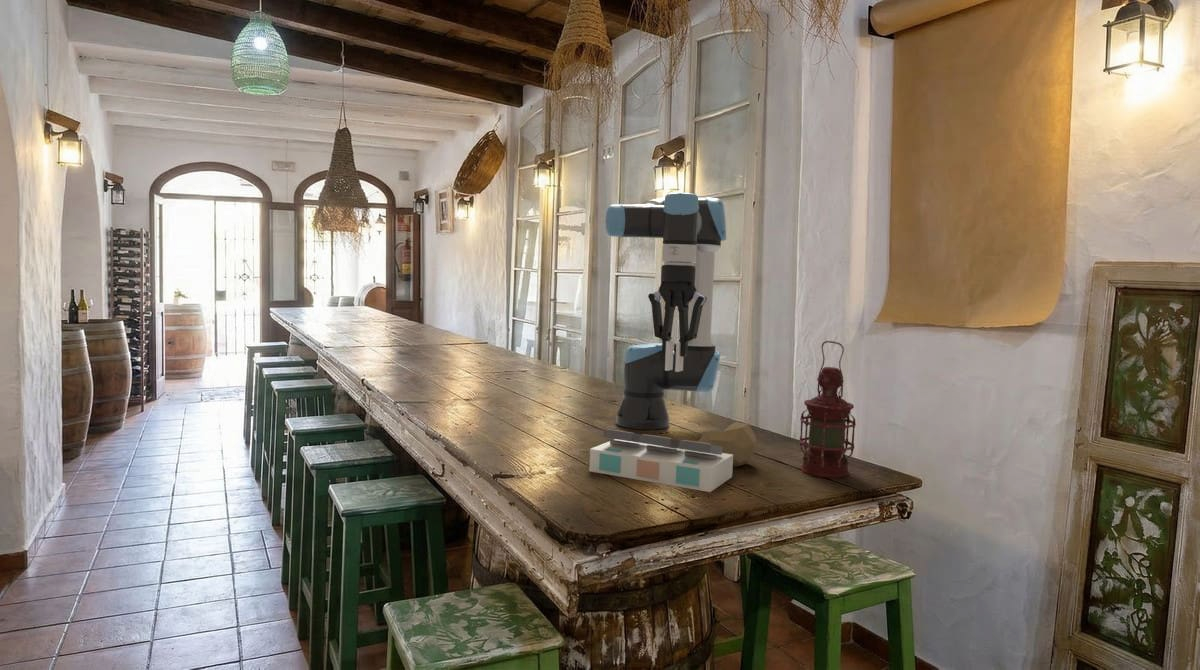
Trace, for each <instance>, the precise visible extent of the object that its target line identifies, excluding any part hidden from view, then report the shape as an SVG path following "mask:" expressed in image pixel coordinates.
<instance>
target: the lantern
mask: <svg viewBox="0 0 1200 670" xmlns="http://www.w3.org/2000/svg"><path fill="white" fill-rule="evenodd" d="M826 343H827V344H828V343H830V344H835V345H839V346H840V347H841V349H842V351H841V355H840V358H839V360H838V367H835V366H834V367H833V366H832V367H831V366H825V365H824V364H825V360H826V359H825V353H824V345H825V344H826ZM844 352H845V347H844V346H843V344H842V343H840V342H838V341H832V340H825V341H823V342H822V344H821V353H822V365H821V367H820V370H819V371H818V372H819V373H818V377H817V378H816V380H817V388H816V389H817V396H815V397H813V398H811V399H805V400H804V402H803V403H804V406H806V409H805V410H803V411H802V412H801V415H800V434H799V435H800V436H799V440H798V443H799V447H800V450H801V451H802V453H803V457H802V460H803V462H802V465H801V467H800V470H801V471H802V472H803V473H804V474H807V475H810V476H814V477H818V478H827V479H840V478H845V477H847V476H849V466H848V465H849V459H850V458H851V457H852V456H853V454H854V449H855V428H856V425H857V424H856V419H855V416H854V415H852V414H851V410H852V409H854V408H855V405H854V404H853V403H851V402H847V401H846V400H845V399H844V398H843V396H844V395H843V394H844V393H843V392H844V380H845V379H844V376H843V372H842V369H841V368H842V367H841V361H842V358H843V356H844ZM838 389H839V392H838ZM806 412H808V414H807V415H806V416H805V415H804V414H805V413H806ZM850 417H851V418H852V419H851V418H850ZM804 425H805V426H804ZM803 426H804V427H805V435H804V437H803ZM808 427H809V429H808ZM851 428H852V435H851V441H849V429H851ZM848 446H849V447H848ZM803 449H804V450H803ZM847 451H850V454H849V455H848V456H847V457H846V454H845V453H846V452H847Z"/></svg>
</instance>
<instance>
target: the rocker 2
mask: <svg viewBox="0 0 1200 670" xmlns="http://www.w3.org/2000/svg"><path fill="white" fill-rule="evenodd" d="M678 440H679V447H678V448H679V449H685V450H692V451H698V452H705V453H712V454H718V455H722V449H723V447H722V446H716V445H711V444H709V443H702V442H698V441H694V440H687V439H681V440H680V439H678Z"/></svg>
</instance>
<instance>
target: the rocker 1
mask: <svg viewBox="0 0 1200 670" xmlns="http://www.w3.org/2000/svg"><path fill="white" fill-rule="evenodd" d="M602 433H603V435H602V438H606V439H611V440H614V439H618V440H625V441H631V442H638V443H640V437H641V434H639V433H635V432H632V431H624V430H618V429H610V428H603V432H602Z"/></svg>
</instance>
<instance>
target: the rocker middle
mask: <svg viewBox="0 0 1200 670" xmlns="http://www.w3.org/2000/svg"><path fill="white" fill-rule="evenodd" d="M640 435H641V437H640V443H645V444H652V445H658V446H665V447H672V448H678V447H679V440H680V439H674V438H672V437H666V436H660V435H653V434H645V433H643V434H640ZM678 449H679V448H678Z"/></svg>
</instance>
